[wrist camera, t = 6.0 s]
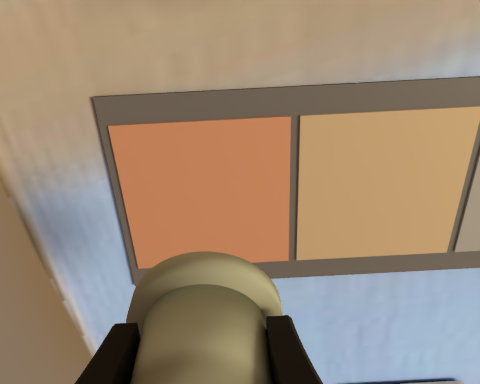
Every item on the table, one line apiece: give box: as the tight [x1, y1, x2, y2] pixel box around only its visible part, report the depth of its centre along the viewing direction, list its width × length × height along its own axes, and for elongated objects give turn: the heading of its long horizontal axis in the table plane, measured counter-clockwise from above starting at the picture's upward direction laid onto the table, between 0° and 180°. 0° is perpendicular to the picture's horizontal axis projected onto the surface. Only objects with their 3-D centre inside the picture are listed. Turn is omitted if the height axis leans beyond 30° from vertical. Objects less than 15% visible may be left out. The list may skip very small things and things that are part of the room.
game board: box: [93, 76, 480, 286], centre depth 19 cm, size 10×24×1 cm, turn 93°
